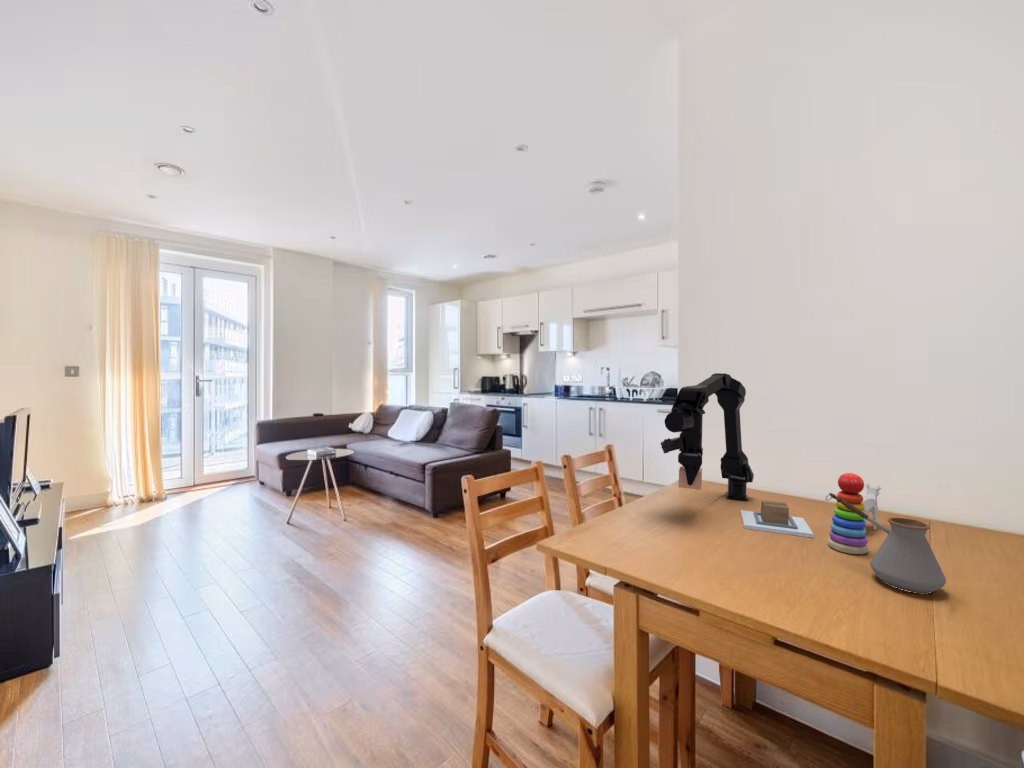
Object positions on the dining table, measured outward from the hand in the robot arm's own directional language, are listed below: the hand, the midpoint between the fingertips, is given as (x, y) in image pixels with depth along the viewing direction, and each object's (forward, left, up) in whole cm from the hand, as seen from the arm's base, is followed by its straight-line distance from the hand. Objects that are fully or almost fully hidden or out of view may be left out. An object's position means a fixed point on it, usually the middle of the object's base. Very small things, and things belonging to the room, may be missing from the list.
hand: (690, 482), depth 130 cm
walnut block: (-3, +22, -9) cm, 24 cm away
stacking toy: (+9, +36, -10) cm, 39 cm away
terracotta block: (0, 0, -1) cm, 1 cm away
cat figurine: (-8, +43, -10) cm, 45 cm away
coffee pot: (+23, +38, -10) cm, 46 cm away
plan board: (-3, +22, -10) cm, 25 cm away
